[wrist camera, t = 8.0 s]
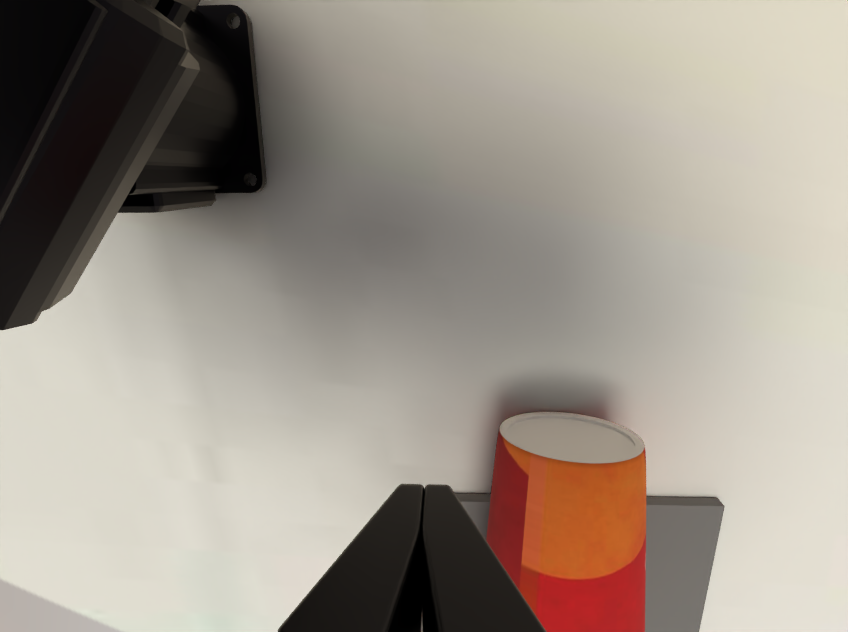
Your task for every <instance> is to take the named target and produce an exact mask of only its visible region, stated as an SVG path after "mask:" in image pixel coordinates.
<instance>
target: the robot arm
mask: <svg viewBox="0 0 848 632" xmlns="http://www.w3.org/2000/svg"><path fill="white" fill-rule="evenodd" d="M199 2H200V0H0V330H6V329H10V328H14V327H19V326H23V325H27V324H32V323H34V322H35V321H37V319H38V317H39V315H40V314H41V312H42V311H44V310H47V309H49V308H51V307H52V306H54V305H55V304H56V303H58V302H59V301H61V300H62V299H63V298H65V297H66V296H68V295H69V294H70V293H71V292H72V291H73V289H74V287H75V285H76V284H77V282H78V280H79V278H80V277H81V275H82V273H83V272H84V270H85V268H86V266H87V265H88V263H89V261H90V259H91V258H92V256H93V254H94V253H95V251H96V249H97V247H98V246H99V244H100V242H101V240H102V239H103V237H104V235H105V234H106V232H107V230H108V228H109V227H110V225H111V223H112V221H113V220H114V218H115V216H116V214H117V213H142V212H164V211H172V210H180V209H188V208H195V207H203V206H211V205H212V204H213V203H214V202H215V201H216V195H215V193H253V192H259V191H261V190H262V189H264V187H265V185H266V171H265V161H264V151H263V140H262V130H261V120H260V109H259V99H258V89H257V78H256V68H255V58H254V47H253V37H252V26H251V21H250V18H249V16H248V15H247V13H245V12H244V11H243V10H242V9H240V8H239V7H238V6H234V5H207V6H197V5H198V3H199ZM236 16H238V17H239V18H240V25H239V27H238V28H236V29H232V26H231V20H232V19H233V18H234V17H236ZM251 173H253V174H254V175H255V176H256V179H257V180H256V184H255V185H254V186H252V185H251V184H249V182H248V176H249V174H251ZM421 627H422V632H547V631H546V630H545V628H544V627H543V625H542V624H541V622H540V621H539V619H538V618H537V616H536V615H535V613H534V612H533V610H532V609H531V607H530V606H529V604H528V603H527V601H526V600H525V598H524V597H523V595H522V594H521V592H520V591H519V589H518V588H517V586H516V585H515V583H514V582H513V580H512V579H511V577H510V576H509V574H508V573H507V571H506V570H505V568H504V567H503V565H502V564H501V562H500V561H499V559H498V558H497V556H496V555H495V553H494V552H493V550H492V549H491V547H490V546H489V544H488V543H487V541H486V540H485V538H484V537H483V535H482V534H481V532H480V531H479V529H478V528H477V526H476V525H475V523H474V522H473V520H472V519H471V517H470V516H469V514H468V513H467V511H466V510H465V508H464V507H463V505H462V504H461V502H460V501H459V499H458V498H457V496H456V495H455V493H454V492H453V490H452V489H451V487H450V486H448V485H427V486H426V487H425V489H424V487H423V485H420V484H401V485H399V486H398V487H397V488H396V489H395V491H394V492H393V493H392V494H391V495H390V497H389V498H388V499H387V500H386V501H385V502H384V504H383V505H382V506H381V507H380V508H379V510H378V511H377V512H376V513H375V514H374V516H373V517H372V518H371V519H370V520H369V522H368V523H367V524H366V525H365V526H364V528H363V529H362V530H361V531H360V532H359V533H358V535H357V536H356V537H355V538H354V539H353V541H352V542H351V543H350V544H349V545H348V547H347V548H346V549H345V550H344V551H343V553H342V554H341V555H340V556H339V557H338V558H337V560H336V561H335V562H334V563H333V564H332V566H331V567H330V568H329V569H328V570H327V572H326V573H325V574H324V575H323V576H322V578H321V579H320V580H319V581H318V582H317V584H316V585H315V586H314V587H313V588H312V589H311V591H310V592H309V593H308V594H307V595H306V597H305V598H304V599H303V600H302V601H301V603H300V604H299V605H298V606H297V607H296V609H295V610H294V611H293V612H292V613H291V614H290V616H289V617H288V618H287V619H286V620H285V622H284V623H283V624H282V625H281V626H280V628H279V629H278V632H421Z"/></svg>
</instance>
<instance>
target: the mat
mask: <svg viewBox="0 0 848 632" xmlns="http://www.w3.org/2000/svg"><path fill="white" fill-rule="evenodd" d="M455 495H456V496H457V498H458V499H459V501H460V502H461V504H462V505H463V507H464V508H465V510H466V511H467V513H468V514H469V516H470V517H471V519H472V520H473V522H474V523H475V525H476V526H477V528H478V529H479V531H480V532H481V534H482V535H483V537H484V538H485V540H486V538H487V528H488V518H489V508H490V498H491V494H463V493H455ZM723 511H724V505H723V504H722V503H721V502H720V500H719V499H718V498H694V497H646V587H645V632H699V629H700V624H701V619H702V614H703V609H704V604H705V599H706V595H707V590H708V585H709V580H710V575H711V570H712V565H713V560H714V555H715V550H716V546H717V541H718V536H719V531H720V526H721V521H722V516H723ZM421 632H422V627H421Z"/></svg>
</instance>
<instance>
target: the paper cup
mask: <svg viewBox="0 0 848 632" xmlns="http://www.w3.org/2000/svg"><path fill="white" fill-rule="evenodd" d="M486 541H487V543H488V544H489V546H490V547H491V549H492V550H493V552H494V553H495V555H496V556H497V558H498V559H499V561H500V562H501V564H502V565H503V567H504V568H505V570H506V571H507V573H508V574H509V576H510V577H511V579H512V580H513V582H514V583H515V585H516V586H517V588H518V589H519V591H520V592H521V594H522V595H523V597H524V598H525V600H526V601H527V603H528V604H529V606H530V607H531V609H532V610H533V612H534V613H535V615H536V616H537V618H538V619H539V621H540V622H541V624H542V625H543V627H544V628H545V630H546V631H547V632H645V587H646V456H645V445H644V442H643V440H642V439H641V438H640V437H639V436H638V435H637V434H635V433H634V432H633V431H631V430H629V429H627V428H625V427H623V426H621V425H618V424H616V423H613V422H610V421H607V420H603V419H600V418H596V417H591V416H586V415H581V414H574V413H564V412H532V413H525V414H520V415H516V416H513V417H510V418H508V419H506V420H505V421H504V422H502V424H501V425H500V428H499V432H498V439H497V445H496V454H495V462H494V470H493V479H492V489H491V498H490V508H489V518H488V528H487V538H486Z"/></svg>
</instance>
